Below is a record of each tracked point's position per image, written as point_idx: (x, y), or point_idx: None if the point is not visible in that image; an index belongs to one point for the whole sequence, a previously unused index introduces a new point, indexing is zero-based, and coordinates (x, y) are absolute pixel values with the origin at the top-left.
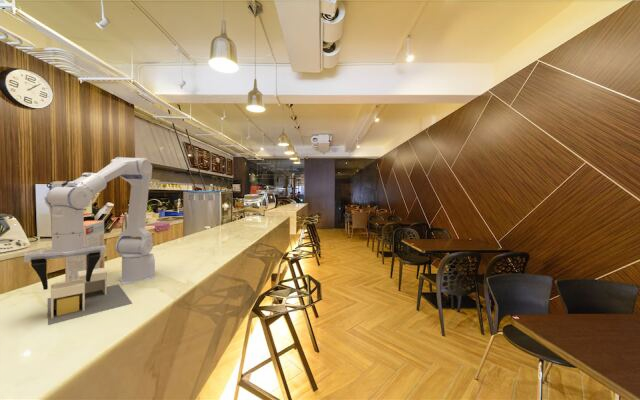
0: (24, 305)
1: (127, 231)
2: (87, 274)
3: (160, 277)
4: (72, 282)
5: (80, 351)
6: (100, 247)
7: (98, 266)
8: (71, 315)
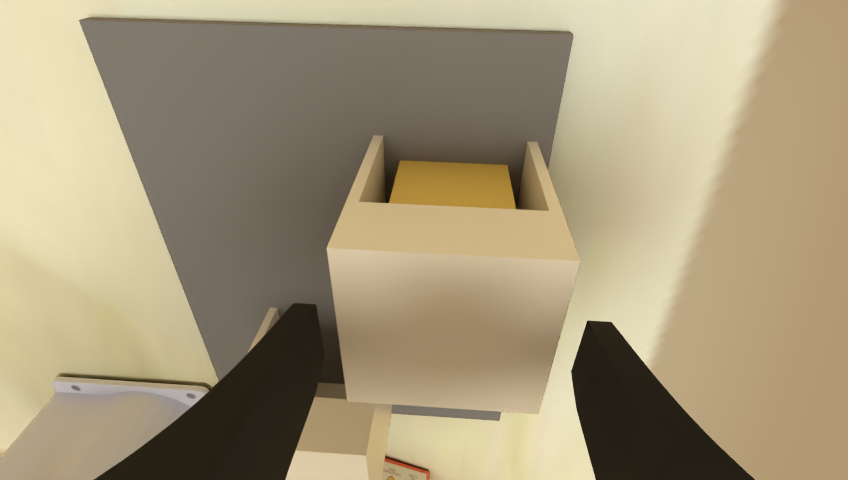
0: (573, 413)
1: None
2: (281, 356)
3: (33, 378)
4: (413, 360)
5: None
6: None
7: None
8: (442, 103)
